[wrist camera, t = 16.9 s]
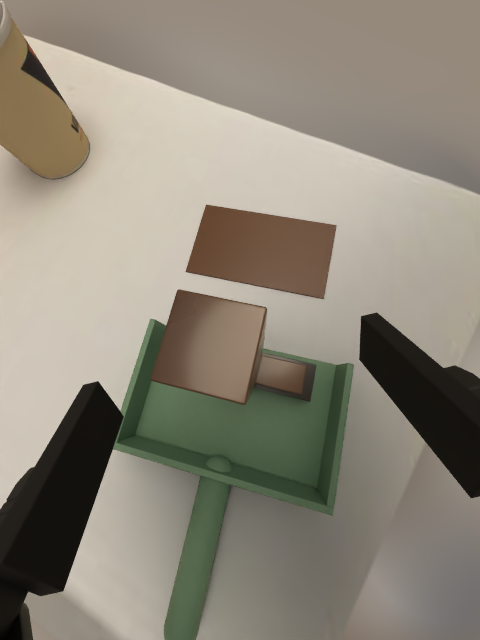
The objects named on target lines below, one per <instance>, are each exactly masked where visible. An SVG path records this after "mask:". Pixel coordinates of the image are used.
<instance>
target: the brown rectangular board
mask: <svg viewBox="0 0 480 640" xmlns="http://www.w3.org/2000/svg"><path fill="white" fill-rule="evenodd" d="M335 231H336V225H331V224H325V223H318V222H312V221H306V220H299V219H293V218H287V217H280V216H274V215H268V214H261V213H255V212H249V211H243V210H236V209H230V208H224V207H217V206H211V205H206V207H205V210H204V213H203V217H202V220H201V223H200V227H199V230H198V233H197V236H196V240H195V243H194V246H193V250H192V253H191V256H190V259H189V263H188V266H187V269H186V272H190V273H195V274H201V275H206V276H211V277H216V278H221V279H226V280H231V281H236V282H241V283H246V284H252V285H257V286H262V287H267V288H272V289H277V290H282V291H287V292H292V293H297V294H303V295H308V296H313V297H318V298H323V299H324V294H325V288H326V282H327V277H328V271H329V265H330V260H331V254H332V248H333V242H334V237H335Z"/></svg>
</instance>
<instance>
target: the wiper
mask: <svg viewBox="0 0 480 640" xmlns="http://www.w3.org/2000/svg"><path fill="white" fill-rule="evenodd" d="M266 316H267V308H266V307H262V306H257V305H252V304H247V303H242V302H237V301H233V300H228V299H223V298H218V297H213V296H208V295H204V294H199V293H194V292H189V291H184V290H177V293H176V296H175V300H174V303H173V306H172V309H171V313H170V316H169V319H168V322H167V326H166V329H165V332H164V336H163V339H162V342H161V345H160V349H159V352H158V355H157V358H156V362H155V365H154V368H153V372H152V375H151V378H150V380H151V381H153V382H157V383H161V384H165V385H168V386H172V387H176V388H180V389H184V390H188V391H192V392H195V393H199V394H203V395H207V396H211V397H215V398H218V399H222V400H226V401H230V402H234V403H238V404H242V405H245V404H246V403H247V401H248V399H249V397H250V396H251V394H252V392H253V390H254V388H256V389H260V390H264V391H268V392H273V393H277V394H281V395H285V396H289V397H293V398H297V399H301V400H305V401H309V402H310V401H311V395H312V389H313V383H314V377H315V371H316V366H317V365H316V364H312V363H307V362H303V361H299V360H294V359H290V358H286V357H281V356H277V355H273V354H268V353H264V352H263V345H264V335H265V325H266Z"/></svg>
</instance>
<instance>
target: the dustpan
mask: <svg viewBox="0 0 480 640" xmlns="http://www.w3.org/2000/svg"><path fill="white" fill-rule="evenodd" d="M165 329H166V325H164V324H162V323H160V322H158V321H157V320H154V319H150V322H149V325H148V328H147V331H146V334H145V337H144V340H143V343H142V346H141V349H140V353H139V356H138V359H137V362H136V365H135V368H134V371H133V374H132V377H131V381H130V384H129V387H128V390H127V393H126V396H125V399H124V402H123V405H122V408H121V413H122V414H123V416H124V418H123V421H122V424H121V427H120V430H119V433H118V435H117V438H116V441H115V444H114V447H113V449H115V450H118V451H121V452H125V453H128V454H131V455H134V456H138V457H141V458H144V459H148V460H151V461H154V462H158V463H161V464H164V465H167V466H171V467H174V468H177V469H181V470H184V471H187V472H190V473H194V474H197V475H200V476H201V477H200V481H199V486H198V490H197V494H196V498H195V502H194V506H193V510H192V514H191V518H190V522H189V526H188V530H187V535H186V539H185V543H184V547H183V551H182V555H181V559H180V563H179V567H178V571H177V575H176V579H175V584H174V588H173V592H172V596H171V600H170V604H169V608H168V612H167V616H166V620H165V625H164V638H165V640H195V639H196V637H197V633H198V629H199V625H200V620H201V616H202V611H203V607H204V602H205V598H206V593H207V589H208V584H209V580H210V575H211V571H212V566H213V562H214V557H215V553H216V548H217V543H218V539H219V534H220V530H221V525H222V521H223V516H224V512H225V507H226V503H227V498H228V494H229V489H230V485H233V486H236V487H240V488H243V489H246V490H250V491H253V492H256V493H260V494H263V495H266V496H269V497H273V498H276V499H279V500H283V501H286V502H289V503H292V504H296V505H299V506H302V507H306V508H309V509H312V510H315V511H319V512H322V513H325V514H329V515H333V510H334V503H335V496H336V489H337V482H338V475H339V468H340V461H341V454H342V446H343V439H344V432H345V425H346V418H347V411H348V404H349V396H350V389H351V382H352V375H353V368H354V365H353V364H349V363H346V364H341V365H333V364H329V363H325V362H320V361H316V360H312V359H307V358H303V357H298V356H294V355H290V354H285V353H281V352H276V351H272V350H268V349H263V352H264V353H268V354H273V355H277V356H281V357H286V358H290V359H294V360H299V361H303V362H307V363H312V364H316V365H317V366H316V371H315V377H314V383H313V389H312V395H311V401H310V402H309V401H305V400H301V399H297V398H293V397H289V396H285V395H281V394H277V393H273V392H268V391H264V390H260V389H256V388H254V390H253V392H252V394H251V396H250V397H249V399H248V401H247V403H246V404H245V405H242V404H238V403H234V402H230V401H226V400H222V399H218V398H215V397H211V396H207V395H203V394H199V393H195V392H192V391H188V390H184V389H180V388H176V387H172V386H168V385H165V384H161V383H157V382H153V381H151V380H150V378H151V375H152V372H153V368H154V365H155V362H156V358H157V355H158V352H159V349H160V345H161V342H162V339H163V336H164V332H165ZM135 434H136V435H135ZM138 435H140V436H138ZM142 436H143V437H142ZM145 437H146V438H145ZM148 438H150V439H148ZM152 439H153V440H152ZM155 440H157V441H155ZM159 441H160V442H159ZM162 442H164V443H162ZM166 443H167V444H166ZM169 444H170V445H169ZM172 445H174V446H172ZM176 446H177V447H176ZM179 447H181V448H179ZM183 448H184V449H183ZM186 449H188V450H186ZM190 450H191V451H190ZM193 451H194V452H193ZM196 452H198V453H196ZM200 453H201V454H200ZM203 454H205V455H203ZM207 455H208V456H207ZM210 456H211V457H210ZM231 462H232V463H231ZM234 463H235V464H234ZM237 464H239V465H237ZM241 465H242V466H241ZM244 466H246V467H244ZM248 467H249V468H248ZM251 468H253V469H251ZM255 469H256V470H255ZM258 470H259V471H258ZM261 471H263V472H261ZM265 472H266V473H265ZM268 473H270V474H268ZM272 474H273V475H272ZM275 475H277V476H275ZM279 476H280V477H279ZM282 477H283V478H282ZM285 478H287V479H285ZM289 479H290V480H289ZM292 480H294V481H292ZM296 481H297V482H296ZM299 482H301V483H299ZM302 483H304V484H302ZM306 484H307V485H306ZM309 485H311V486H309ZM313 486H314V487H313ZM316 487H317V488H316Z"/></svg>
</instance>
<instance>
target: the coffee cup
mask: <svg viewBox="0 0 480 640" xmlns="http://www.w3.org/2000/svg"><path fill="white" fill-rule="evenodd" d="M0 145H2V146H3V147H4V148H5V149H6V150H8V151H9V152H10V153H11V154H13V155H14V156H15V157H16V158H18V159H19V160H20V161H21V162H22V163H24V164H25V165H26V166H27V167H29V168H30V169H31V170H33V171H34V172H35V173H37V174H38V175H40V176H42V177H44V178H49V179H57V178H62V177H65V176H68V175H70V174H72V173H73V172H75V171H76V170H77V169H79V168H80V167H81V166H82V164H83V163H84V162H85V160H86V158H87V156H88V154H89V147H90V146H89V141H88V139H87V136H86V135H85V133H84V131H83V130H82V128H81V126H80V125H79V123H78V122H77V120H76V118H75V117H74V115H73V114H72V112H71V110H70V109H69V107H68V106H67V104H66V102H65V101H64V99H63V98H62V96H61V94H60V93H59V91H58V90H57V88H56V87H55V85H54V83H53V82H52V80H51V79H50V77H49V75H48V74H47V72H46V71H45V69H44V67H43V66H42V64H41V63H40V61H39V59H38V58H37V56H36V55H35V53H34V52H33V50H32V49H31V47H30V46H29V44H28V42H27V41H26V39H25V38H24V36H23V35H22V33H21V32H20V30H19V29H18V27H17V25H16V24H15V22H14V21H13V19H12V18H11V15H10V12H9V10H8V8H7V7H6V5H5V4H4V2H3V1H2V0H0Z"/></svg>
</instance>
